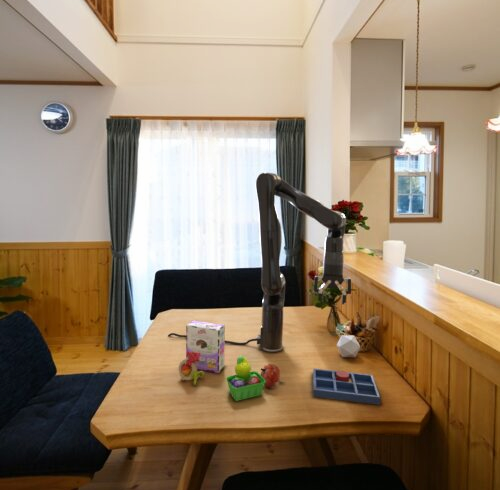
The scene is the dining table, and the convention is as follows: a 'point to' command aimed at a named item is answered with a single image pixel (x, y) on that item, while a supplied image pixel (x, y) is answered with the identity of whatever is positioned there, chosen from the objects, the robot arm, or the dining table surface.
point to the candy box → (206, 344)
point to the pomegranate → (270, 374)
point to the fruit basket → (245, 381)
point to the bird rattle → (190, 367)
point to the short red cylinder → (342, 376)
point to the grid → (345, 387)
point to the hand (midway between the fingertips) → (331, 303)
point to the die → (348, 346)
